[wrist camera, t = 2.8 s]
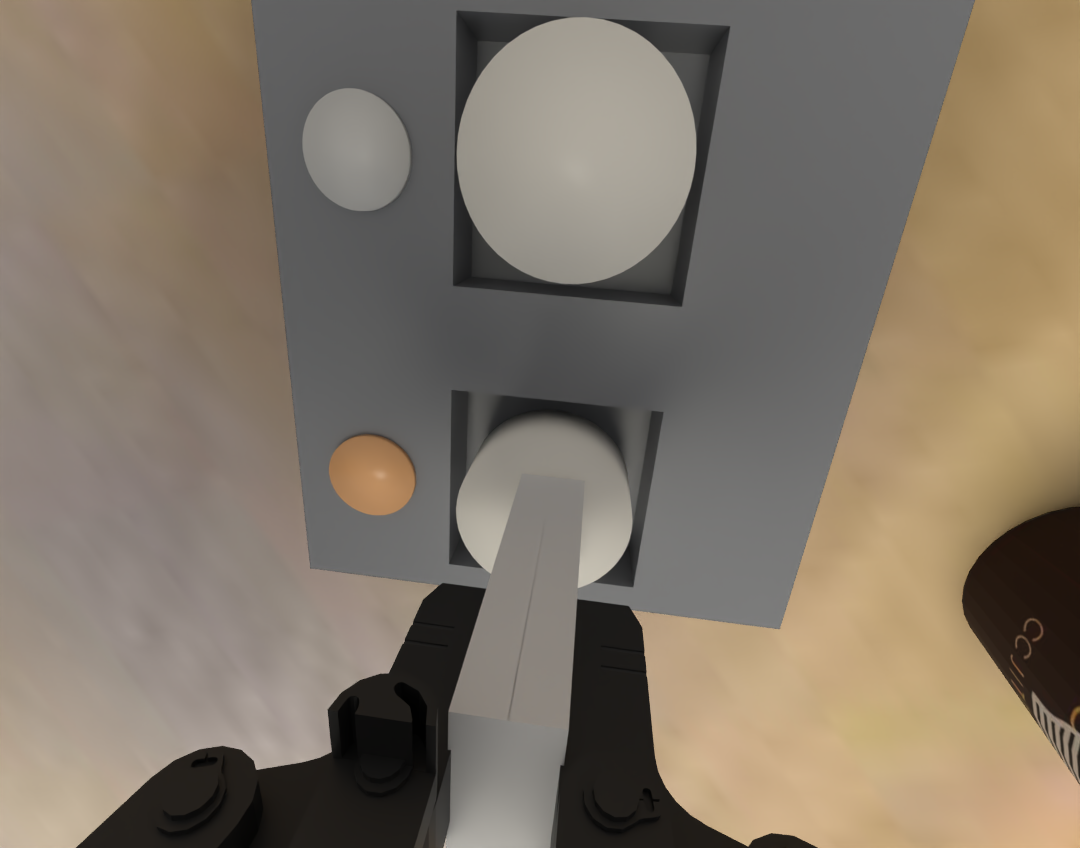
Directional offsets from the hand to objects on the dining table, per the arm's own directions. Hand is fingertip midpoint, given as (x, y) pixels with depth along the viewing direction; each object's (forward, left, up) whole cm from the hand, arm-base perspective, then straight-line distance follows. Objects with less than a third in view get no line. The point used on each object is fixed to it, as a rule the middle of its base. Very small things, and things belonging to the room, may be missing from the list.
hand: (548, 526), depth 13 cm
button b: (0, +8, -2) cm, 8 cm away
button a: (0, 0, -2) cm, 2 cm away
